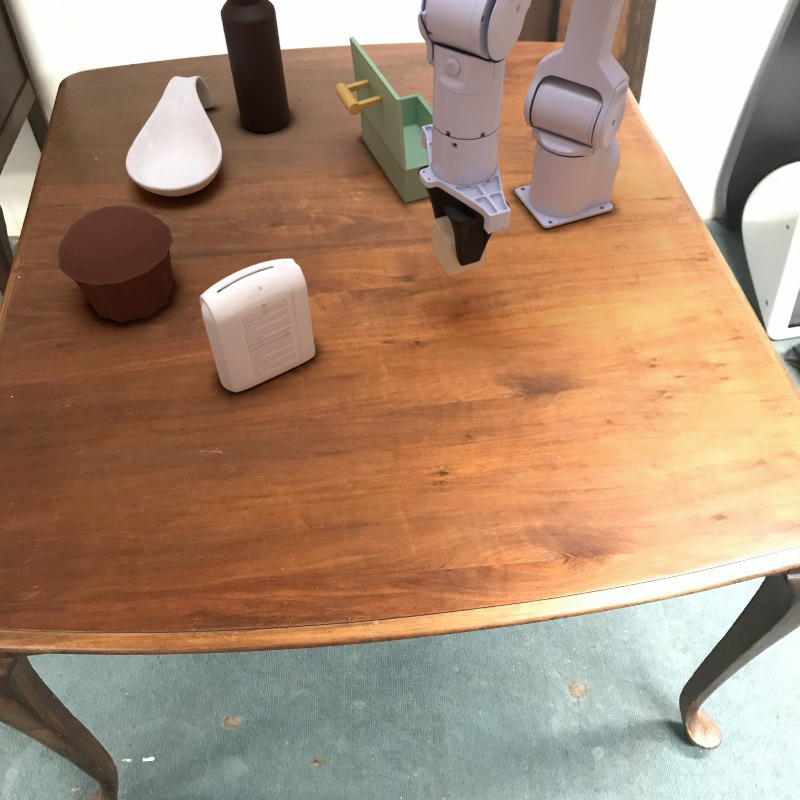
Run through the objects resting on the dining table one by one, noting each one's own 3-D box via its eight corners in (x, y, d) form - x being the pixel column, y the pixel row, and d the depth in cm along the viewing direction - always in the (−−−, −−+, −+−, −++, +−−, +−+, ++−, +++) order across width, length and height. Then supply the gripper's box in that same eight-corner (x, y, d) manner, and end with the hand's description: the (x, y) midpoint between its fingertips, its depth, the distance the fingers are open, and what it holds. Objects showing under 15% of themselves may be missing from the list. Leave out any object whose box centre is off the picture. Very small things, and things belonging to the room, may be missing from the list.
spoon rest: (223, 209, 95) (211, 158, 89) (126, 213, 95) (108, 162, 89) (238, 105, 110) (229, 56, 104) (155, 108, 109) (141, 59, 104)
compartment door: (353, 36, 93) (317, 46, 92) (400, 98, 84) (361, 110, 83) (361, 103, 100) (328, 113, 100) (406, 167, 91) (370, 178, 90)
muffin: (98, 346, 81) (65, 273, 73) (64, 285, 86) (30, 213, 79) (203, 301, 85) (182, 228, 77) (164, 246, 90) (140, 173, 83)
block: (468, 241, 78) (470, 208, 75) (485, 265, 76) (488, 233, 73) (431, 251, 77) (432, 219, 74) (448, 276, 75) (449, 244, 72)
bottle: (300, 115, 108) (280, -38, 92) (269, 139, 104) (244, -16, 89) (261, 102, 110) (237, -50, 95) (230, 125, 107) (199, -29, 91)
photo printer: (302, 332, 82) (288, 239, 72) (323, 357, 79) (310, 264, 70) (213, 373, 78) (185, 281, 68) (232, 400, 76) (205, 310, 66)
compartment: (419, 124, 106) (419, 92, 102) (467, 187, 97) (469, 154, 93) (361, 138, 104) (360, 105, 100) (405, 203, 95) (404, 170, 91)
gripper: (390, 88, 68) (393, 214, 79) (459, 179, 60) (452, 306, 70) (462, 72, 70) (456, 197, 81) (540, 158, 61) (521, 285, 72)
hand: (459, 246), depth 76 cm, fingers closed on block, 4 cm apart
